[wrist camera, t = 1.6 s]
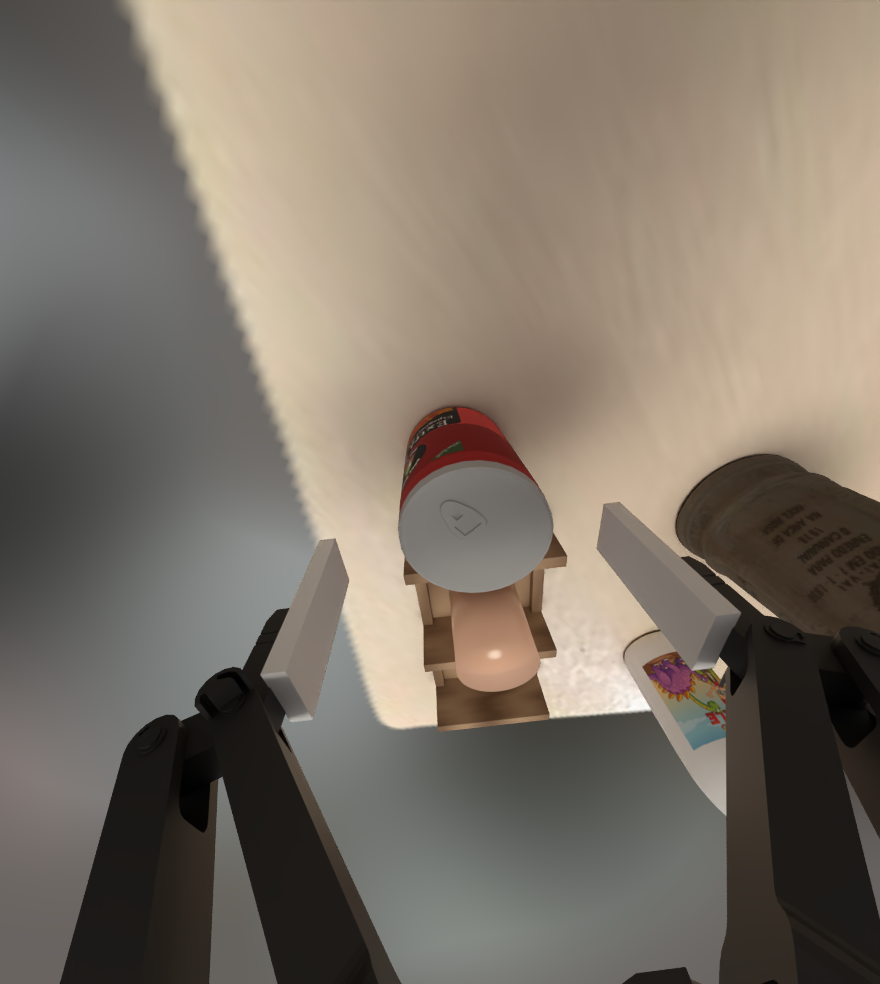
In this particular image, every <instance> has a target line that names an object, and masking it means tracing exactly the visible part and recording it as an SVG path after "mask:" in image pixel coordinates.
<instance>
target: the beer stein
mask: <svg viewBox="0 0 880 984" xmlns="http://www.w3.org/2000/svg"><path fill="white" fill-rule="evenodd" d="M677 535H678V538H679V540H680V542H681V543H682V545H683V546H684V547H686V548H687V549H688V550H689V551H690V552H691V553H693V554H695V555H697V556H699V557H700V558H702V559H705V561H706V563H707V564H708V565H709V566H710V567H711V568H712V569H714V570H715V571H716V572H718V573H720V574H722V575H724V576H727V577H728V578H729V579H731V580H732V581H733V582H734V583H736V584H737V585H738V586H740V587H741V588H742V589H743V590H745V591H746V592H747V593H748V594H750V595H751V596H752V597H753V598H755V599H756V600H757V601H758V602H760V603H761V604H762V605H764V606H765V607H766V608H767V609H769V610H770V611H771V612H772V613H774V614H775V615H776V616H777V617H779V618H780V619H782V620H784V621H787V622H789V623H791V624H793V625H794V626H796V627H797V628H799V629H800V630H802V631H803V632H804V633H811V634H819V635H826V636H833V637H835V636H836V634H837V633H838V632H839V630H840V629H841V628H844V627H847V626H851V627H860V628H864V629H868V630H871V631H874V632H876V633H878V634H880V502H878V501H876V500H873V499H871V498H868V497H866V496H864V495H861V494H859V493H857V492H855V491H853V490H851V489H848V488H845V487H842V486H840V485H838V484H837V483H835V482H834V481H831V480H830V479H829V478H827V477H825V476H823V475H819V474H815V473H810V472H808V471H807V470H805V469H804V468H803V467H801V466H800V465H798V464H797V463H795V462H793V461H791V460H789V459H787V458H784V457H781V456H778V455H760V456H753V457H749V458H745V459H741V460H738V461H736V462H733V463H731V464H729V465H726V466H724V467H723V468H721V469H720V470H718V471H716V472H714V473H713V474H712V475H710V476H709V477H708V478H706V479H705V480H704V481H703V482H702V483H701V484H700V485H699V486H698V487H697V488H696V489H695V490H694V491H693V492H692V493H691V495H690V496H689V498H688V499H687V501H686V502H685V504H684V506H683V507H682V509H681V511H680V513H679V516H678V519H677Z"/></svg>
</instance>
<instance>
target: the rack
mask: <svg viewBox="0 0 880 984" xmlns="http://www.w3.org/2000/svg"><path fill="white" fill-rule="evenodd" d="M566 563H567V555H566V553H565V551H564V550H563V548H562V546H561V545H560V543H559V541H558V540H557V538H556V536H555V535H554V533H553V536H552V540H551V543H550V546H549V549H548V551H547V553H546V554H545V556H544V558H543V560H542V561H541V562H540V563H539V564H538V565H537V567H536V568H535V569H534V570H533V571H531V572H530V573H529V574H528V575H526V576H525V577H524V578H522V579H521V580H519V581H517V582H515V583H514V584H515V587H516V590H517V593H518V596H519V599H520V602H521V604H522V607H523V610H524V613H525V616H526V619H527V622H528V625H529V628H530V631H531V634H532V637H533V640H534V643H535V645H536V648H537V651H538V654H539V657H540V659H542V658H551V657H556V652H557V649H556V647H555V645H554V642H553V640H552V637H551V635H550V632H549V630H548V627H547V625H546V622H545V620H544V617H543V615H542V612H541V611H542V596H543V581H544V569H548V568H556V567H565V566H566ZM404 579H405V584H406V585H412V584H415V586H416V591H417V596H418V601H419V605H420V610H421V615H422V620H423V625H424V668H425V672H429V671H433V674H434V679H435V684H436V696H437V722H438V731H449V730H458V729H466V728H476V727H484V726H493V725H502V724H510V723H520V722H529V721H538V720H546V719H549V715H550V714H549V711H548V708H547V705H546V702H545V699H544V695H543V692H542V689H541V686H540V683H539V680H538V677H537V673H536V674H535V675H534V676H533V677H532V678H531V679H530V680H529V681H527V682H526V683H524V684H522V685H520V686H518V687H515V688H512V689H509V690H505V691H498V692H485V691H479V690H475V689H472V688H469V687H467V686H466V685H464V684H463V683H462V682H461V681H460V680H459V678H458V676H457V673H456V663H455V653H454V642H453V632H452V621H451V611H450V601H449V590H448V589H445V588H442V587H440V586H437V585H435V584H433V583H431V582H430V581H428V580H426V579H424V578H423V577H422V576H421V575H420V574H418V573H417V572H416V571H415V570H414V569H413V568H412V566H411V565H410V564H409V562H408V561H407V560H406V558H405V562H404Z"/></svg>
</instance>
